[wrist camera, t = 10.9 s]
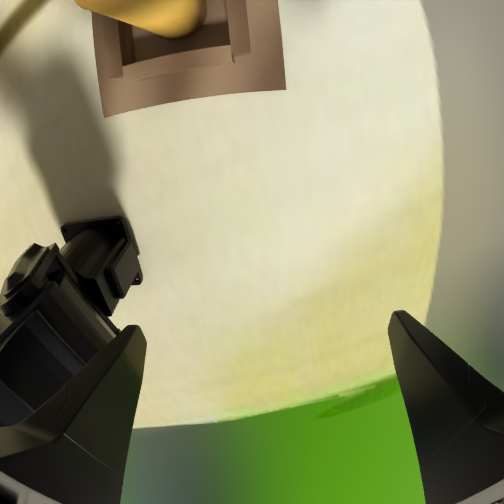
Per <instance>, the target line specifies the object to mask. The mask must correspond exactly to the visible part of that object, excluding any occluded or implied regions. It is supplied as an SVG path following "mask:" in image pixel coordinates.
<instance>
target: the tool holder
mask: <svg viewBox="0 0 504 504" xmlns="http://www.w3.org/2000/svg"><path fill="white" fill-rule="evenodd" d="M204 1H205V2H206V5H207V17H206V20H205V22H204V24H203V25H202V27H201V28H200V29H199V30H198V31H197V32H195V33H194V34H192V35H190V36H188V37H186V38H182V39H176V40H173V39H166V38H163V37H161V36H159V35H156V34H154V33H151V32H149V31H146V30H144V29H141V28H139V27H136V26H134V25H131V24H128V23H126V22H123V21H120V20H117V19H114V18H111V17H108V16H105V15H102V14H99V13H96V12H93V11H92V25H93V38H94V49H95V58H96V67H97V75H98V82H99V89H100V96H101V102H102V108H103V114H104V118H105V117H109V116H112V115H116V114H120V113H124V112H128V111H132V110H137V109H141V108H146V107H150V106H155V105H160V104H165V103H171V102H176V101H182V100H188V99H195V98H201V97H208V96H216V95H225V94H234V93H244V92H256V91H272V90H286V82H285V70H284V58H283V47H282V36H281V26H280V16H279V7H278V0H204Z"/></svg>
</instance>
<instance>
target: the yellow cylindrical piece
mask: <svg viewBox="0 0 504 504" xmlns="http://www.w3.org/2000/svg"><path fill="white" fill-rule="evenodd" d="M74 1H75V2H76V3H77V4H78V5H79V6H80V7H82V8H84V9H86V10H89V11H93V12H96V13H99V14H102V15H105V16H108V17H111V18H114V19H117V20H120V21H123V22H126V23H128V24H131V25H134V26H136V27H139V28H141V29H144V30H146V31H149V32H151V33H154V34H156V35H159V36H161V37H163V38H166V39H173V40H176V39H182V38H186V37H188V36H190V35H192V34H194V33H195V32H197V31H198V30H199V29H200V28H201V27H202V25H203V24H204V22H205V20H206V17H207V5H206V2H205V1H204V0H74Z"/></svg>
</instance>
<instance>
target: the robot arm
mask: <svg viewBox="0 0 504 504" xmlns="http://www.w3.org/2000/svg"><path fill="white" fill-rule="evenodd" d="M117 221H119V222H120V224H118V223H117ZM65 228H66V229H67V230H68V231H67V230H66V229H65ZM61 232H62V234H63V237H64V240H65V242H66V244H65V245H64V246H63V247H62V248H61V250H60V251H59V247H58V246H57V244H56V243H54V244H52V245H50V246H47V247H45V248H44V246H43V247H42V246H40V245H38V244H36V243H34V244H32V245H31V246H30V247H29V248H28V249H27V250H26V251H25V252H24V253H23V254H22V255H21V256H20V257H19V258H18V260H17V261H16V262H15V264H14V266H13V268H12V269H11V271H10V273H9V275H8V277H7V278H6V279H5V281H4V284H3V287H2V291H1V294H0V504H120V500H121V493H122V485H123V477H124V472H125V465H126V460H127V454H128V448H129V443H130V438H131V432H132V427H133V422H134V417H135V413H136V408H137V403H138V399H139V394H140V390H141V385H142V380H143V372H144V363H145V355H146V348H147V342H146V339H145V337H144V334H143V332H142V330H141V328H140V326H138V325H128V326H126V327H125V328H124V329H123V330H122V331H121V330H120V329H117V328H116V326H115V325H114V324H113V323H112V322H111V320H110V319H109V318H108V317H110V316H112V314H113V312H114V310H115V308H116V306H117V304H118V302H119V300H120V299H123V298H124V297H125V296H126V294H127V292H128V290H129V288H130V286H131V285H140V284H141V283H142V281H143V277H142V274H141V271H140V264H139V260H138V257H137V254H136V251H135V248H134V245H133V242H132V241H131V240H130V237H129V234H128V230H127V227H126V223H125V220H124V219H123V218H122V217H121V216H112V217H105V218H98V219H90V220H83V221H77V222H70V223H65V224H64V225H62V227H61ZM136 278H137V279H138V280H137V279H136ZM107 316H108V317H107ZM388 335H389V340H390V345H391V350H392V356H393V361H394V366H395V371H396V374H397V378H398V381H399V385H400V388H401V392H402V395H403V399H404V402H405V406H406V410H407V414H408V417H409V422H410V426H411V430H412V434H413V438H414V443H415V447H416V452H417V456H418V461H419V466H420V472H421V478H422V483H423V488H424V495H425V501H426V504H457V503H459V504H504V392H503V391H502V390H500V389H499V388H498V387H496V386H495V385H494V384H492V383H491V382H490V381H488V380H487V379H486V378H484V377H483V376H482V375H480V374H479V372H477V371H476V370H475V369H474V368H473V367H471V366H470V365H468V363H467V362H466V361H465V360H463V359H462V358H461V357H460V356H459V355H458V354H456V353H455V352H454V351H453V350H452V349H451V348H450V347H448V346H447V345H446V344H445V343H444V342H442V341H441V340H440V339H439V338H438V337H436V336H435V335H434V334H433V333H431V332H430V331H429V330H428V329H427V328H426V327H424V326H423V325H422V324H421V323H420V322H418V321H417V320H416V319H415V318H413V317H412V316H411V315H410V314H409V313H407V312H406V311H404V310H398V311H394V312H393V313H392V316H391V319H390V323H389V326H388Z"/></svg>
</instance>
